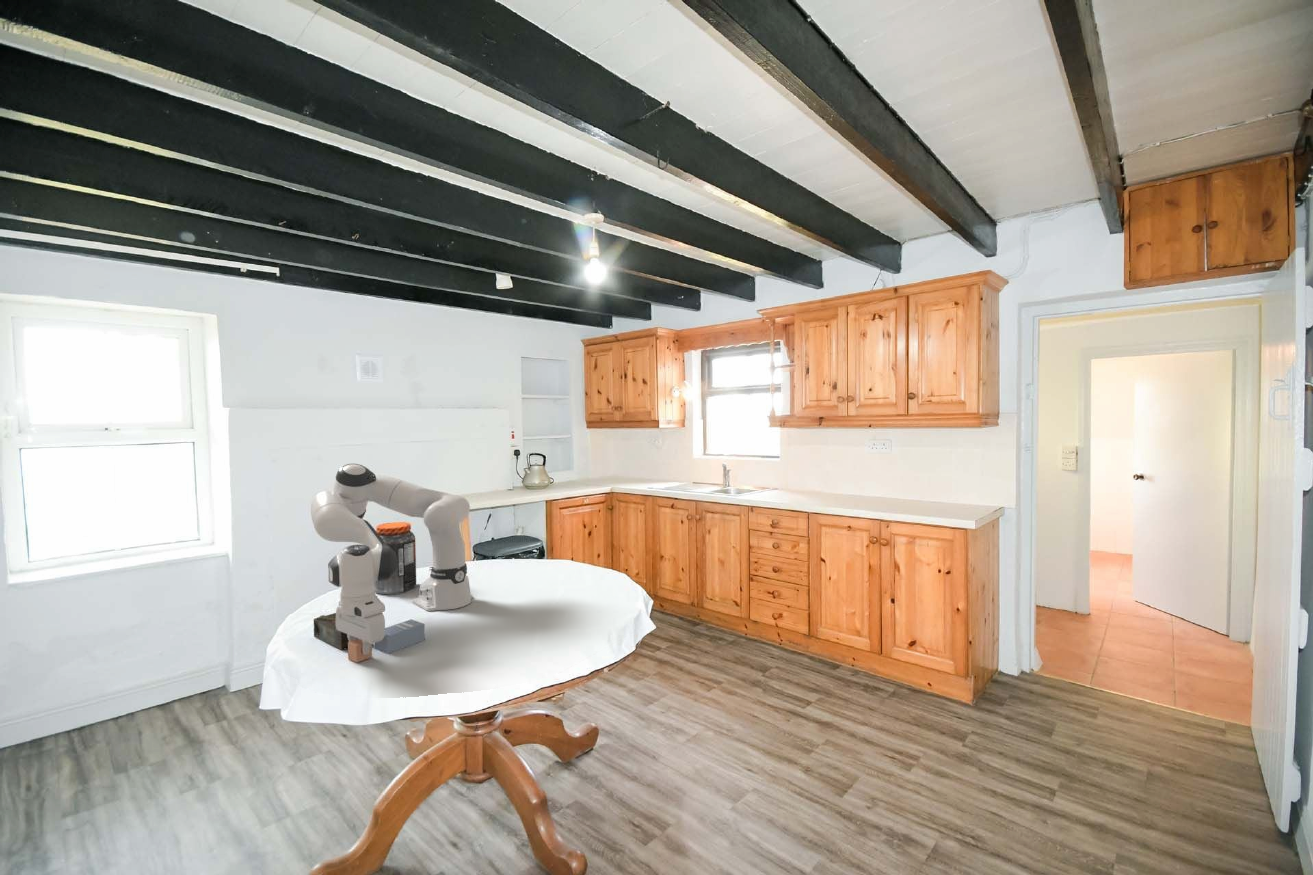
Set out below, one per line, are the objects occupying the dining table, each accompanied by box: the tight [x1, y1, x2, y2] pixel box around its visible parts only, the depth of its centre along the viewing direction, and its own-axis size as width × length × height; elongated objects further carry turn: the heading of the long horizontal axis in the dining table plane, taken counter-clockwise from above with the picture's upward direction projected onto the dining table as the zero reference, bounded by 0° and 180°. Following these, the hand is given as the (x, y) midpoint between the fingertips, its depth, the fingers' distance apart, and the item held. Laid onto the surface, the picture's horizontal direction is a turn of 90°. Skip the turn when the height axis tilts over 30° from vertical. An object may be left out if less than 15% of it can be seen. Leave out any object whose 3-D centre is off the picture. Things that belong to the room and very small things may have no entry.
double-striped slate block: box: [374, 619, 426, 654], centre depth 171 cm, size 7×12×5 cm, turn 146°
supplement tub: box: [373, 521, 417, 595], centre depth 225 cm, size 16×16×26 cm
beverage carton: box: [313, 612, 358, 651], centre depth 176 cm, size 8×19×7 cm, turn 54°
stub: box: [347, 639, 373, 663], centre depth 161 cm, size 4×4×5 cm
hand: (360, 651), depth 161 cm, fingers open, 4 cm apart
